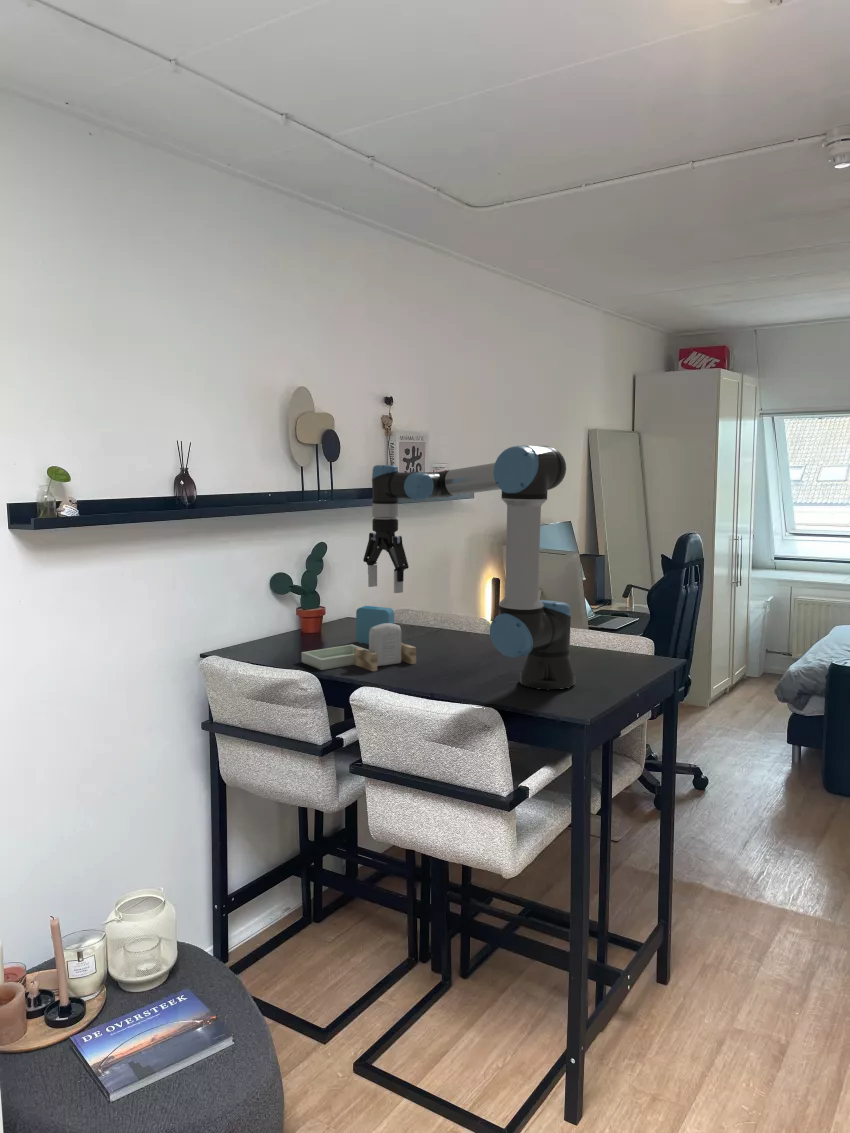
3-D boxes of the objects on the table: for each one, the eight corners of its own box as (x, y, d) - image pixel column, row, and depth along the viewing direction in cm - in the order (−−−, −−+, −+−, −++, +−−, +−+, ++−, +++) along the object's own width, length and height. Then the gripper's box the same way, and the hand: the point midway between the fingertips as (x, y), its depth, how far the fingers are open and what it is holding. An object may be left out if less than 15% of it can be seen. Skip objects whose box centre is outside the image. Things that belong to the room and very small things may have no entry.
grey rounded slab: (396, 660, 259) (396, 620, 257) (403, 663, 256) (403, 623, 254) (366, 665, 254) (366, 624, 252) (373, 668, 250) (373, 626, 248)
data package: (394, 643, 282) (394, 608, 280) (388, 646, 278) (388, 610, 276) (362, 640, 287) (362, 605, 285) (356, 643, 282) (355, 607, 281)
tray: (373, 661, 258) (373, 651, 258) (321, 670, 247) (321, 660, 247) (352, 653, 267) (352, 644, 267) (301, 662, 257) (301, 652, 256)
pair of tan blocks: (416, 663, 255) (416, 647, 255) (372, 671, 246) (372, 654, 245) (397, 657, 263) (397, 641, 262) (354, 664, 254) (354, 648, 253)
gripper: (420, 520, 241) (420, 594, 244) (372, 514, 261) (372, 582, 264) (399, 521, 237) (399, 596, 240) (351, 515, 257) (352, 585, 260)
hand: (385, 589), depth 252 cm, fingers open, 13 cm apart
